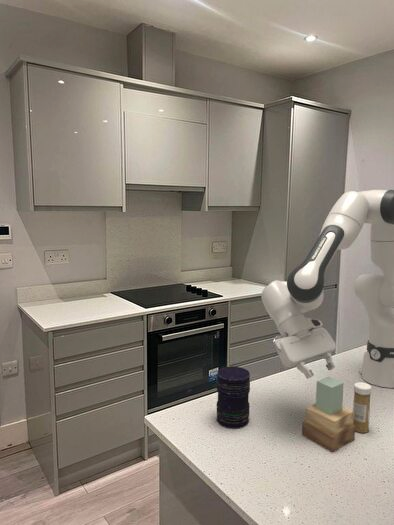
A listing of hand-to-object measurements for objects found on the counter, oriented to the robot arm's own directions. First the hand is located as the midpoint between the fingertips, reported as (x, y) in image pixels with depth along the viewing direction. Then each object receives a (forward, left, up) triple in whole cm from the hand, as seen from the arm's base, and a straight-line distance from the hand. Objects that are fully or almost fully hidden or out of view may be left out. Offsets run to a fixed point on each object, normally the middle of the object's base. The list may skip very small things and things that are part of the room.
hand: (321, 372), depth 113 cm
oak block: (0, +3, -13) cm, 14 cm away
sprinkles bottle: (-11, +6, -18) cm, 22 cm away
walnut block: (0, +3, -18) cm, 18 cm away
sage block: (0, +3, -9) cm, 10 cm away
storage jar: (+16, -19, -18) cm, 31 cm away
